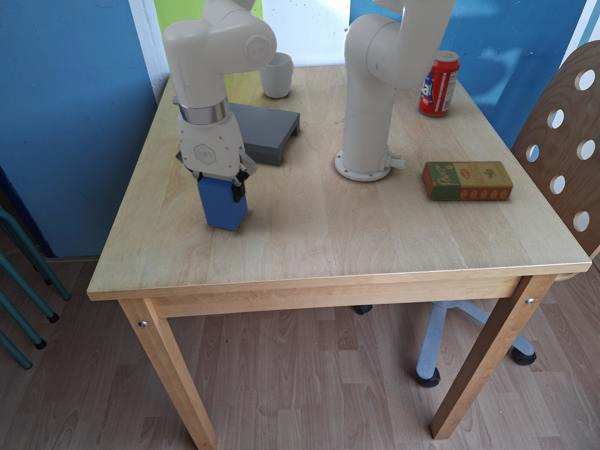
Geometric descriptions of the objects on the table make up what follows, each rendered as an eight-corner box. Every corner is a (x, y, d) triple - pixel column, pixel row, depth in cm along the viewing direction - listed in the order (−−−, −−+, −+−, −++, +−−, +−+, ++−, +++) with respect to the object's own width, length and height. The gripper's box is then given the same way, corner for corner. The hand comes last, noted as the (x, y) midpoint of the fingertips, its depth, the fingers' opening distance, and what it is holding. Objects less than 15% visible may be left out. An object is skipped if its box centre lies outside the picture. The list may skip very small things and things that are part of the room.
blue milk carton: (248, 210, 84) (240, 165, 76) (235, 230, 80) (226, 185, 72) (220, 204, 86) (210, 160, 78) (207, 224, 82) (195, 180, 74)
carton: (508, 201, 86) (515, 185, 83) (428, 201, 87) (433, 184, 84) (495, 176, 92) (502, 159, 89) (421, 175, 93) (425, 159, 90)
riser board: (300, 130, 107) (299, 112, 103) (278, 166, 96) (277, 148, 92) (213, 117, 112) (210, 99, 109) (184, 149, 101) (180, 131, 98)
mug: (281, 103, 117) (279, 68, 110) (255, 96, 120) (251, 61, 113) (305, 85, 125) (304, 51, 118) (279, 78, 128) (278, 45, 121)
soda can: (447, 120, 109) (462, 63, 99) (416, 116, 111) (427, 60, 100) (448, 106, 115) (462, 50, 104) (418, 102, 116) (429, 47, 106)
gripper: (143, 112, 66) (172, 199, 78) (246, 127, 62) (258, 216, 74) (168, 89, 71) (191, 175, 83) (264, 102, 67) (273, 190, 79)
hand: (223, 194), depth 79 cm, fingers closed on blue milk carton, 6 cm apart
